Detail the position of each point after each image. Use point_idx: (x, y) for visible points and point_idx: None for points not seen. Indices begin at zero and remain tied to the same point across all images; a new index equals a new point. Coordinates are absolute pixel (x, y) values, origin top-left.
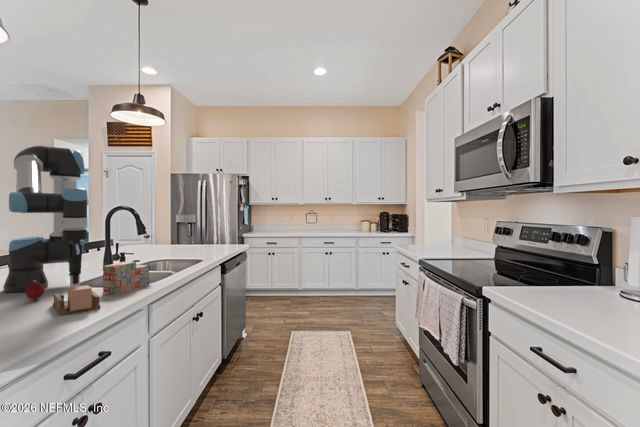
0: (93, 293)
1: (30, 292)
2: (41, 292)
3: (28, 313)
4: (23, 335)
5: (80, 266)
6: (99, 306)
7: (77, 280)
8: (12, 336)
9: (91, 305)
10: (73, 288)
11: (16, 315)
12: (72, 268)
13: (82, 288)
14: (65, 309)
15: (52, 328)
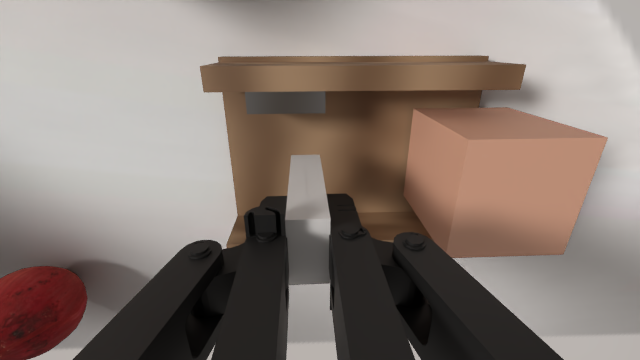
0: (398, 78)
1: (74, 326)
2: (63, 284)
3: (318, 295)
4: (589, 306)
5: (495, 304)
6: (485, 60)
7: (355, 210)
8: (569, 325)
9: (515, 110)
10: (501, 234)
11: (320, 321)
12: (421, 348)
13: (559, 190)
14: None
15: (600, 248)
